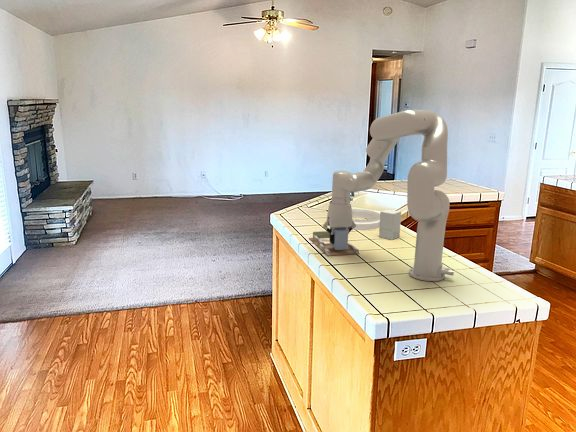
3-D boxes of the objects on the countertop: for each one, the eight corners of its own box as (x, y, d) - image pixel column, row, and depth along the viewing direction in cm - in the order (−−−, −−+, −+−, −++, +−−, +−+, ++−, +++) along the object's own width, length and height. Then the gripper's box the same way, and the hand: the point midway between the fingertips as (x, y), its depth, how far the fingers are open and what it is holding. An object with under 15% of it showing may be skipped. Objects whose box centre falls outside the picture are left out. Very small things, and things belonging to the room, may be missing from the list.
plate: (392, 226, 238) (393, 216, 237) (354, 233, 223) (354, 222, 222) (357, 215, 260) (357, 206, 258) (320, 221, 245) (320, 211, 243)
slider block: (347, 249, 190) (348, 230, 188) (335, 249, 189) (336, 231, 187) (340, 243, 198) (341, 226, 196) (329, 244, 197) (330, 226, 195)
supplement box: (399, 237, 217) (402, 211, 214) (391, 240, 211) (393, 213, 208) (386, 234, 221) (388, 208, 219) (378, 237, 216) (379, 211, 213)
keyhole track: (359, 254, 190) (359, 246, 189) (327, 256, 186) (327, 248, 186) (337, 237, 214) (337, 230, 213) (308, 238, 211) (309, 231, 210)
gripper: (356, 198, 194) (353, 239, 199) (318, 199, 190) (316, 241, 194) (363, 202, 187) (360, 244, 192) (324, 203, 183) (322, 246, 187)
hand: (338, 242), depth 193 cm, fingers closed on slider block, 5 cm apart
